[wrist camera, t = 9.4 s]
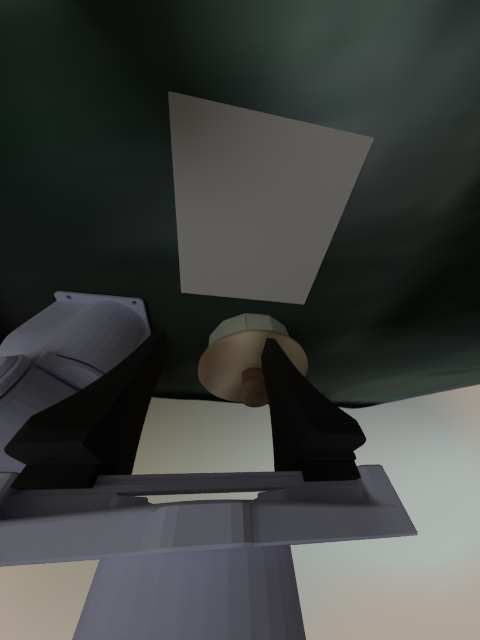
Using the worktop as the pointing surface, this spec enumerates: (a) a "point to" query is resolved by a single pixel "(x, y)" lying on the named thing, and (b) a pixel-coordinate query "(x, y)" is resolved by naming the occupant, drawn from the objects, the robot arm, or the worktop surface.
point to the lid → (244, 365)
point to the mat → (256, 198)
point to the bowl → (246, 325)
